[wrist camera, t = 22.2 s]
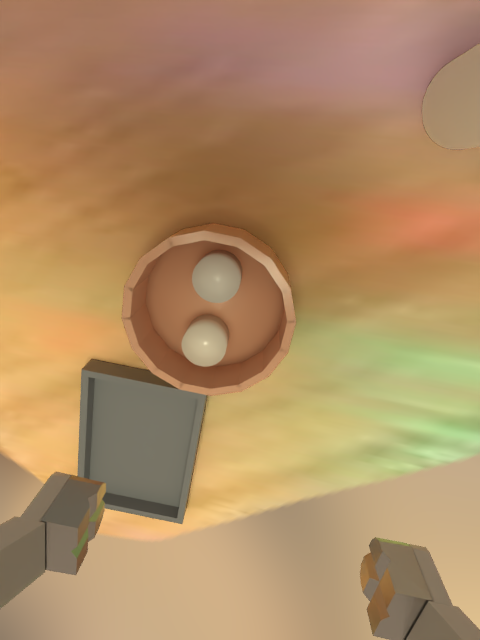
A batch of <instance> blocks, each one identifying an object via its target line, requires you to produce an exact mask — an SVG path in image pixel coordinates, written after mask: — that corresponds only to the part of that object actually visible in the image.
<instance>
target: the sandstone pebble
mask: <svg viewBox="0 0 480 640" xmlns="http://www.w3.org/2000/svg"><path fill="white" fill-rule="evenodd" d="M228 340H229V329H228V327H227V325H226V323H225V322H224V321H223V320H222V319H220V318H219V317H217V316H214V315H209V314H206V315H201V316H198V317H196V318H195V319H194V320H193V321H192V322H191V324H190V325H189V327H188V329H187V331H186V333H185V335H184V337H183V339H182V351H183V353H184V355H185V357H186V358H187V359H188V360H189V361H190V362H192V363H193V364H195V365H198V366H203V367H207V366H212V365H215V364H217V363H218V362H220V361H221V360H222V358H223V357H224V355H225V352H226V348H227V344H228Z"/></svg>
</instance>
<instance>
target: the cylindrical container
mask: <svg viewBox="0 0 480 640" xmlns="http://www.w3.org/2000/svg"><path fill="white" fill-rule="evenodd" d="M422 121H423V125H424V128H425V130H426V132H427V134H428V136H429V137H430V138H431V139H432V140H433V141H434V142H435V143H436V144H438V145H439V146H441V147H443V148H447V149H451V150H462V149H469V148H476V147H480V43H479V44H478V45H476V46H474V47H473V48H471V49H470V50H468V51H467V52H465V53H463V54H462V55H460V56H459V57H457V58H456V59H454V60H452V61H451V62H450V63H448V64H447V65H445V66H444V67H443V68H442V69H441V70H440V71H439V72H438V73H437V74H436V75H435V77H434V78H433V79H432V81H431V82H430V84H429V86H428V88H427V90H426V93H425V96H424V98H423V104H422Z"/></svg>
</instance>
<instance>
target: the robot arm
mask: <svg viewBox="0 0 480 640" xmlns="http://www.w3.org/2000/svg"><path fill="white" fill-rule="evenodd" d="M105 492H106V483H104V482H100V481H95V480H91V479H87V478H83V477H78V476H74V475H69V474H64V473H60V472H55V473H54V474H52V475H51V476H50V478H49V479H48V480H47V482H46V483H45V484H44V486H43V487H42V488H41V490H40V491H39V492H38V494H37V495H36V497H35V498H34V499H33V501H32V502H31V503H30V505H29V506H28V507H27V509H26V510H25V511H24V513H23V514H22V516H21V517H13V518H11V519H10V520H8V521H6V522H5V523H2V524H1V525H0V608H2V607H3V606H4V605H6V604H7V603H8V602H9V601H10V600H12V599H13V598H14V597H15V596H16V595H18V594H19V593H20V592H21V591H23V590H24V589H25V588H26V587H27V586H29V585H30V584H31V583H32V582H34V581H35V580H36V579H37V578H38V577H40V576H41V575H42V574H43V573H44V572H45V570H49V571H55V572H61V573H66V574H72V575H76V574H77V572H78V570H79V568H80V566H81V564H82V562H83V560H84V558H85V556H86V554H87V550H88V542H89V541H90V540H92V539H93V538H94V537H95V535H96V533H97V531H98V529H99V526H100V523H101V521H102V518H103V513H104V507H105V503H104V501H103V500H102V498H103V496H104V494H105ZM369 547H370V551H371V553H369V554H367V555H366V556H364V558H363V561H362V563H361V571H360V579H361V586H362V590H363V593H364V594H365V596H366V597H367V598H368V600H369V601H370V603H369V605H368V607H367V612H368V616H369V621H370V625H371V630H372V634H373V636H377V637H381V638H385V639H389V640H480V630H479V629H478V627H477V626H476V625H475V624H474V623H473V622H472V621H471V620H470V619H469V618H468V617H467V616H466V615H465V614H464V613H463V612H462V611H461V609H460V608H459V607H456V606H453V605H452V603H451V600H450V598H449V596H448V594H447V591H446V589H445V587H444V585H443V582H442V580H441V577H440V575H439V573H438V571H437V568H436V566H435V564H434V562H433V559H432V557H431V555H430V552H429V551H428V550H427V548H426V547H421V546H416V545H411V544H407V543H402V542H397V541H392V540H387V539H381V538H376V537H375V538H374V539H372V541H371V543H370V545H369Z"/></svg>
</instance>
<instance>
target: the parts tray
mask: <svg viewBox="0 0 480 640" xmlns="http://www.w3.org/2000/svg"><path fill="white" fill-rule="evenodd" d="M206 400H207V395H204V394H199V393H194V392H189V391H185V390H180V389H178V388H176V387H175V386H173V385H171V384H170V383H168V382H166V381H164V380H163V379H161V378H159V377H158V376H156V375H154V374H153V373H152V372H151V371H148V370H143V369H138V368H133V367H128V366H123V365H118V364H114V363H109V362H104V361H99V360H94V359H91V360H90V361H89V362H88V363H87V364H86V365H85V366H84V368H83V369H82V374H81V400H80V426H79V453H78V477H83V478H87V479H91V480H95V481H100V482H104V483H106V492H105V494H104V496H103V498H102V500H103V501H104V503H105V507H104V508H106V509H111V510H116V511H121V512H126V513H131V514H136V515H140V516H145V517H150V518H155V519H160V520H165V521H170V522H175V523H179V524H182V523H183V519H184V515H185V511H186V507H187V502H188V496H189V491H190V486H191V480H192V475H193V470H194V464H195V459H196V454H197V448H198V443H199V438H200V432H201V427H202V422H203V416H204V411H205V406H206Z"/></svg>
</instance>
